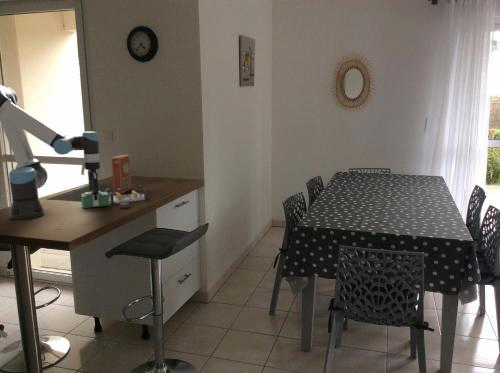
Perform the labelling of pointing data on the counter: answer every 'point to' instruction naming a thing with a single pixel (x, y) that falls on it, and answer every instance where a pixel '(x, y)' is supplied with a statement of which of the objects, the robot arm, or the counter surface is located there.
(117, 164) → the orange cardboard box
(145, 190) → the chassis
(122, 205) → the tape roll
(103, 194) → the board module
